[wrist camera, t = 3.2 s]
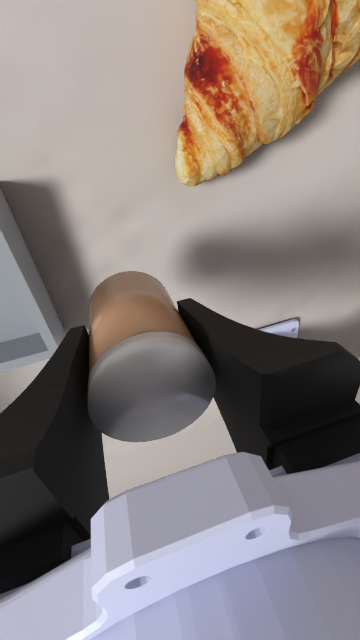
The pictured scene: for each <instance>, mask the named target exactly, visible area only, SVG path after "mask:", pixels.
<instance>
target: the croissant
mask: <svg viewBox="0 0 360 640" xmlns="http://www.w3.org/2000/svg"><path fill="white" fill-rule="evenodd" d="M196 4H197V16H196V31H195V34H194V37H193V40H192V42H191V44H190V47H189V55H188V57H187V61H186V65H185V73H184V79H185V94H186V97H185V103H184V109H185V115H184V117H183V122H182V124H181V125H180V127H179V130H178V132H177V135H178V141H177V150H176V158H175V169H176V173H177V175H178V177H179V179H180V182H181V184H184V185H187V186H197V185H198V184H200V183H202V181H203V180H212V179H214V177H215V176H216V175H217V174H220V175H221V176H224V175H225V174H227V173H228V172H229V171H230V169H232V168H235V167H237V166H239V165H241V163H242V161H243V159H244V157H245V156H248V155H249V154H251V153H252V152H253V151H254V150H256V149H257V148H258V147H260V146H261V145H262V144H269V143H271V142H273V141H275V140H277V139H279V138H282V137H283V136H284V135H285V134H286V133H288V132H289V131H290V129H291V128H292V127H294V126H295V125H296V124H298V123H299V122H300V121H301V120H302V119H303V117H304V116H305V115H306V114H308V111H311V110H312V109H313V107H314V103H315V100H316V97H317V95H318V94H320V93H321V92H322V91H323V90H324V89H325V87H327V86H329V85H330V84H331V82H332V81H333V80H334V79H336V78H338V77H339V76H340V75H341V74H342V73H344V72H345V71H346V70H347V69H349V68H350V67H351V66H353V65H354V64H355V63H356V62H358V61H359V60H360V0H196Z"/></svg>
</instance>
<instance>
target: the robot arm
mask: <svg viewBox="0 0 360 640" xmlns="http://www.w3.org/2000/svg"><path fill="white" fill-rule="evenodd" d="M177 304H178V311H179V314H180V315H181V317H182V319H183V321H184V323H185V324H186V326H187V328H188V330H189V331H190V333H191V335H192V337H193V339H194V340H195V342H196V344H197V345H198V346H199V348H200V349H201V350H202V352H203V353H204V355H205V357H206V359H207V360H208V362H209V364H210V366H211V367H212V369H213V372H214V374H215V380H216V386H215V392H214V395H213V397H214V399H215V401H216V404H217V406H218V408H219V410H220V413H221V415H222V417H223V420H224V422H225V424H226V426H227V429H228V431H229V434H230V436H231V438H232V441H233V443H234V446H235V448H236V451H237V453H234V454H229V455H224V456H221V457H218V458H216V459H213V460H210V461H207V462H204V463H202V464H199V465H196V466H193V467H191V468H188V469H185V470H182V471H180V472H177V473H174V474H171V475H168V476H166V477H163V478H160V479H158V480H155V481H152V482H149V483H146V484H144V485H141V486H138V487H135V488H133V489H130V490H127V491H125V492H123V493H121V494H119V495H117V496H115V497H113V498H112V499H110V500H109V494H108V487H107V479H106V470H105V462H104V453H103V443H102V432H101V431H100V430H98V429H97V428H96V426H95V425H94V424H93V422H92V421H91V419H90V416H89V413H88V379H89V335H88V333H87V330H86V327H85V325H83V326H79V327H75V328H71V329H70V330H69V331H68V332H67V334H66V336H65V337H64V339H63V340H62V342H61V343H60V345H59V346H58V348H57V349H56V351H55V352H54V354H53V355H52V357H51V358H50V360H49V361H48V362H47V364H46V365H45V366H44V368H43V369H42V370H41V372H40V373H39V374H38V375H37V377H36V378H35V379H34V380H33V381H32V383H31V384H30V385H29V386H28V387H27V388H26V389H25V390H24V391H23V392H22V393H21V395H20V396H19V397H18V398H17V399H16V400H15V401H13V402H12V403H11V404H10V405H9V406H8V407H7V408H6V409H5V410H4V411H3V412H2V413H1V414H0V640H360V404H359V403H357V402H356V401H355V398H356V395H357V392H358V389H359V386H360V361H359V360H358V359H357V358H356V357H355V356H353V355H352V354H351V353H350V352H348V351H347V350H346V349H344V348H343V347H342V346H341V345H339V344H338V343H336V342H326V341H315V340H305V339H299V338H297V335H298V328H299V322H298V321H297V320H296V319H292V320H289V321H285V322H282V323H279V324H275V325H272V326H268V327H265V328H261V329H254V328H251V327H249V326H246V325H243V324H240V323H238V322H235V321H233V320H231V319H228V318H226V317H224V316H222V315H220V314H218V313H216V312H214V311H212V310H210V309H209V308H207V307H205V306H203V305H202V304H200V303H198V302H196V301H195V300H193V299H191V298H188V299H184V300H181V301H177Z"/></svg>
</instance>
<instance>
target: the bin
mask: <svg viewBox="0 0 360 640" xmlns="http://www.w3.org/2000/svg"><path fill="white" fill-rule="evenodd" d="M64 332H65V330H64V327H63V325H62V323H61V321H60V318H59V316H58V314H57V312H56V310H55V307H54V305H53V303H52V301H51V298H50V296H49V294H48V292H47V290H46V287H45V285H44V283H43V281H42V279H41V276H40V274H39V272H38V270H37V267H36V265H35V263H34V261H33V259H32V256H31V254H30V252H29V250H28V248H27V245H26V243H25V241H24V239H23V236H22V234H21V232H20V230H19V228H18V225H17V223H16V221H15V219H14V217H13V214H12V212H11V210H10V208H9V205H8V203H7V201H6V199H5V197H4V194H3V192H2V190H1V188H0V372H1V371H5V370H8V369H12V368H16V367H19V366H23V365H27V364H30V363H34V362H38V361H41V360H45V359H49V358H51V357H52V355H53V354H54V352H55V351H56V349H57V348H58V346H59V345H60V343H61V342H62V340H63V339H64Z"/></svg>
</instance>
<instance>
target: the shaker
mask: <svg viewBox="0 0 360 640" xmlns="http://www.w3.org/2000/svg"><path fill="white" fill-rule="evenodd" d="M215 386H216V380H215V374H214V372H213V369H212V367H211V366H210V364H209V362H208V360H207V359H206V357H205V355H204V353H203V352H202V350H201V349H200V348H199V346H198V345H197V344H196V342H195V340H194V339H193V337H192V335H191V333H190V331H189V330H188V328H187V326H186V324H185V323H184V321H183V319H182V317H181V315H180V314H179V312H178V310H177V308H176V306H175V305H174V303H173V301H172V299H171V298H170V296H169V294H168V292H167V290H166V289H165V287H164V286H163V285H162V283H161V282H159V281H158V280H157V279H156V278H154V277H152V276H150V275H148V274H146V273H142V272H136V271H127V272H121V273H118V274H115V275H112V276H110V277H108V278H107V279H105V280H104V281H103V282H101V283H100V284H99V285H98V286H97V288H96V289H95V290H94V292H93V294H92V296H91V298H90V301H89V379H88V413H89V416H90V419H91V421H92V422H93V424H94V425H95V426H96V428H97V429H98V430H100V431H101V432H102V433H104V434H105V435H107V436H109V437H112V438H114V439H117V440H121V441H127V442H146V441H152V440H157V439H161V438H164V437H167V436H170V435H172V434H175V433H177V432H179V431H181V430H182V429H184V428H186V427H187V426H189V425H190V424H192V423H193V422H194V421H195V420H196V419H198V418H199V417H200V416H201V415H202V414H203V412H204V411H205V410H206V409H207V407H208V405H209V404H210V402H211V400H212V398H213V395H214V392H215Z"/></svg>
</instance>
